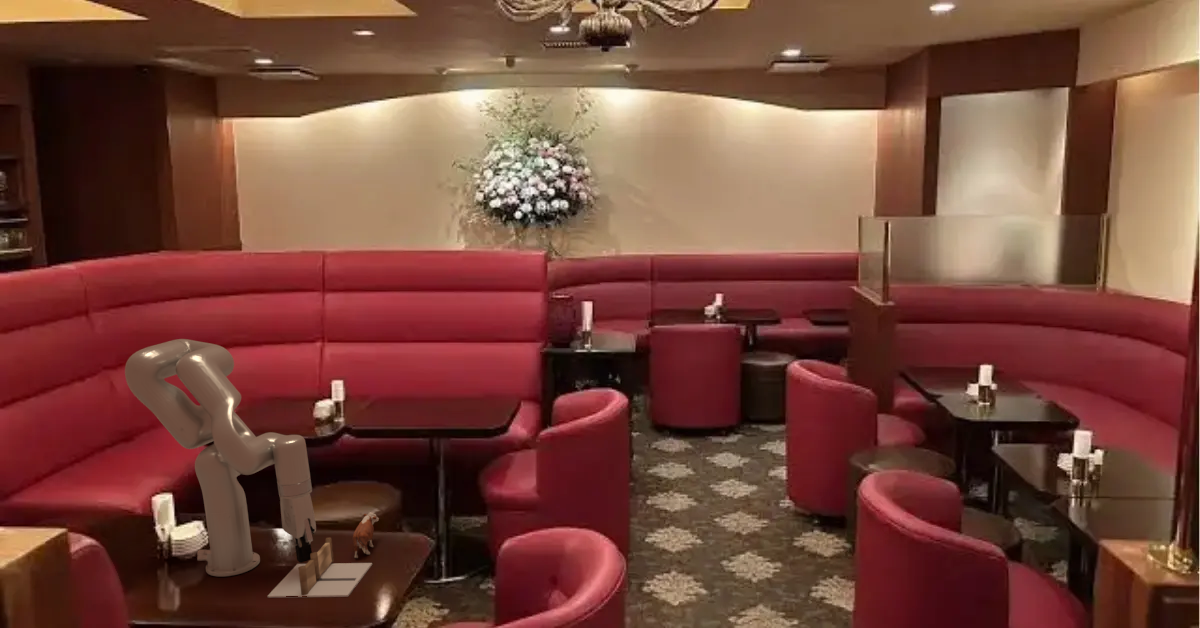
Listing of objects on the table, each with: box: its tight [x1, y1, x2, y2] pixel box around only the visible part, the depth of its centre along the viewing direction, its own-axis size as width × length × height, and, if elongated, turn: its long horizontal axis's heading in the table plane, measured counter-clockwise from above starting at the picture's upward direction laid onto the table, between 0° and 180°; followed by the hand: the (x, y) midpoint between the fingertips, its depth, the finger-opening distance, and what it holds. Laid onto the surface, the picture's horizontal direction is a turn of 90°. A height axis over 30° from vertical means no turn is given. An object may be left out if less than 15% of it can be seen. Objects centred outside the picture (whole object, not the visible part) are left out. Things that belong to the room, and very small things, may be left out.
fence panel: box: [310, 537, 335, 580], centre depth 228 cm, size 11×2×6 cm, turn 175°
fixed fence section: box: [298, 560, 316, 595], centre depth 219 cm, size 2×6×6 cm, turn 175°
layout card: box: [267, 562, 373, 598], centre depth 224 cm, size 19×17×1 cm
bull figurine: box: [352, 511, 380, 559], centre depth 240 cm, size 4×13×8 cm, turn 174°
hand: (304, 559), depth 228 cm, fingers closed
